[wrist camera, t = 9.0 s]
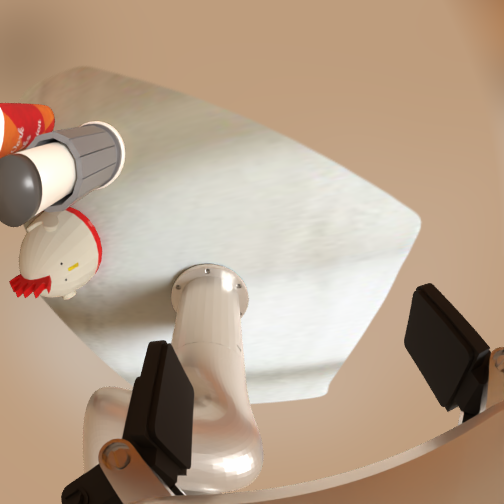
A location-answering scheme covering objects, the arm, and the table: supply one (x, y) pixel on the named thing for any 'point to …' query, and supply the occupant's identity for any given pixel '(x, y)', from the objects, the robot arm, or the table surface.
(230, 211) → the table surface
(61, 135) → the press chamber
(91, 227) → the kitchen timer
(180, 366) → the robot arm
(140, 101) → the table surface
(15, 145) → the coffee cup
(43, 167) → the plunger
